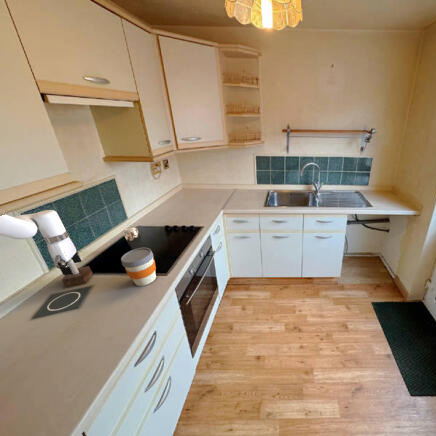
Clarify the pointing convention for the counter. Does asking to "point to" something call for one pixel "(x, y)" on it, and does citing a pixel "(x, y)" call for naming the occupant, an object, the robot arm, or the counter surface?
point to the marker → (73, 267)
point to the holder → (77, 277)
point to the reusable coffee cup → (140, 265)
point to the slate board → (63, 302)
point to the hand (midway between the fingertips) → (73, 268)
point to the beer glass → (133, 238)
